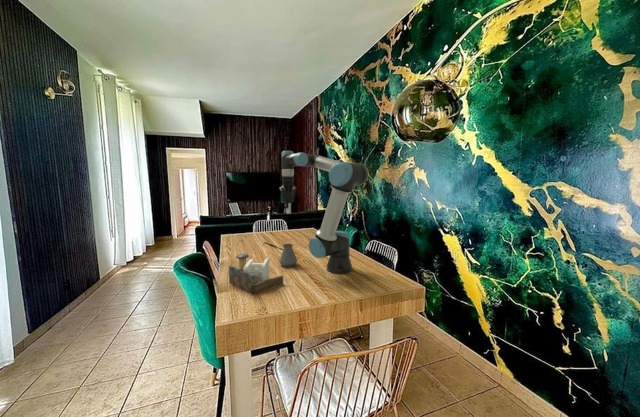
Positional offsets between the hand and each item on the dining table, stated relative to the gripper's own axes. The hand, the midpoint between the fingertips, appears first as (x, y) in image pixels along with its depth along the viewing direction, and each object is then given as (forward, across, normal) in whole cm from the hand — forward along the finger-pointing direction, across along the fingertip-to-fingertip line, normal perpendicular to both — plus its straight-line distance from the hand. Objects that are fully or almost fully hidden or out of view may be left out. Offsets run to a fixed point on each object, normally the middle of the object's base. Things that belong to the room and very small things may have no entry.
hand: (288, 213), depth 166 cm
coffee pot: (+33, +6, -1) cm, 33 cm away
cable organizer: (+33, +34, +15) cm, 49 cm away
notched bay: (+32, +34, +14) cm, 49 cm away
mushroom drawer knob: (+32, +30, -6) cm, 45 cm away
